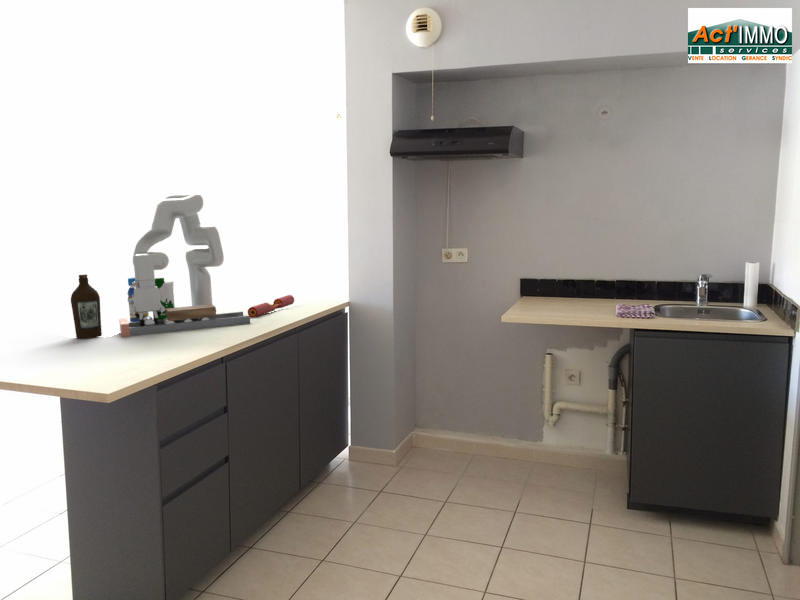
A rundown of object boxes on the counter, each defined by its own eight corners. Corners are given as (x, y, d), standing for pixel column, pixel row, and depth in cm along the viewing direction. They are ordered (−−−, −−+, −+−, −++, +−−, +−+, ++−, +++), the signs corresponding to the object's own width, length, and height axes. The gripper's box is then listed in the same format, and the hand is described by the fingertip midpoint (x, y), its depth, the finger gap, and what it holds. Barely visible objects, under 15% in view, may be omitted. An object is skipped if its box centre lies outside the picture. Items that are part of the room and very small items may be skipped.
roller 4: (197, 323, 302) (196, 314, 301) (206, 322, 303) (206, 313, 303) (201, 327, 291) (200, 318, 290) (211, 326, 292) (210, 317, 292)
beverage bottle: (153, 320, 318) (149, 276, 315) (144, 323, 310) (140, 278, 307) (135, 320, 319) (131, 277, 316) (126, 323, 311) (122, 279, 308)
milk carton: (151, 324, 305) (147, 279, 303) (160, 321, 314) (156, 277, 312) (170, 324, 304) (166, 278, 302) (179, 320, 313) (175, 276, 311)
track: (120, 330, 292) (119, 319, 291) (242, 318, 312) (241, 307, 311) (122, 337, 276) (120, 324, 276) (250, 323, 296) (249, 311, 296)
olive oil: (72, 336, 282) (66, 275, 279) (100, 333, 288) (94, 273, 285) (77, 340, 273) (70, 276, 270) (105, 336, 279) (99, 274, 276)
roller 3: (180, 325, 299) (179, 316, 298) (190, 324, 301) (189, 315, 300) (184, 329, 288) (183, 319, 288) (194, 328, 290) (193, 318, 289)
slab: (166, 317, 295) (165, 308, 295) (212, 313, 303) (211, 304, 302) (169, 320, 286) (168, 311, 286) (216, 316, 294) (215, 306, 293)
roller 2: (163, 327, 296) (162, 317, 296) (173, 326, 298) (172, 316, 297) (166, 331, 285) (165, 321, 285) (176, 330, 287) (175, 320, 286)
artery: (285, 304, 355) (285, 294, 355) (294, 304, 354) (294, 294, 353) (247, 318, 315) (247, 307, 315) (257, 318, 314) (257, 307, 313)
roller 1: (143, 326, 292) (142, 316, 292) (153, 325, 294) (152, 315, 293) (145, 329, 282) (144, 319, 282) (155, 328, 284) (154, 318, 283)
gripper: (124, 286, 279) (128, 331, 281) (167, 283, 286) (171, 327, 288) (123, 284, 286) (127, 328, 288) (165, 281, 293) (169, 324, 295)
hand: (149, 327), depth 288 cm, fingers closed on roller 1, 4 cm apart
